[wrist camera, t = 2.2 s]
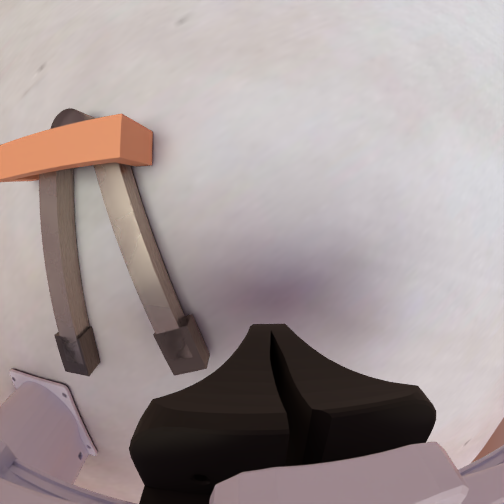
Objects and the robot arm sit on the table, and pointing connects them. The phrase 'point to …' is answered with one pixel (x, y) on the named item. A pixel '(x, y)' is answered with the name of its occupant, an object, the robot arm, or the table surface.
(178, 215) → the table surface
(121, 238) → the tong arm
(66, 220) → the base
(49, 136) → the orange bridge block
